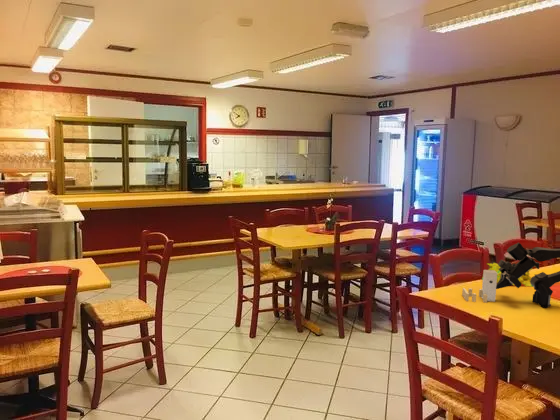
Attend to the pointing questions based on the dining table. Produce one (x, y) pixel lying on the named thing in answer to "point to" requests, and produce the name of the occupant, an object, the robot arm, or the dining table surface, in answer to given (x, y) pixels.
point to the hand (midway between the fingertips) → (495, 288)
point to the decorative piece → (523, 279)
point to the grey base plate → (473, 295)
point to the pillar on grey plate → (489, 284)
